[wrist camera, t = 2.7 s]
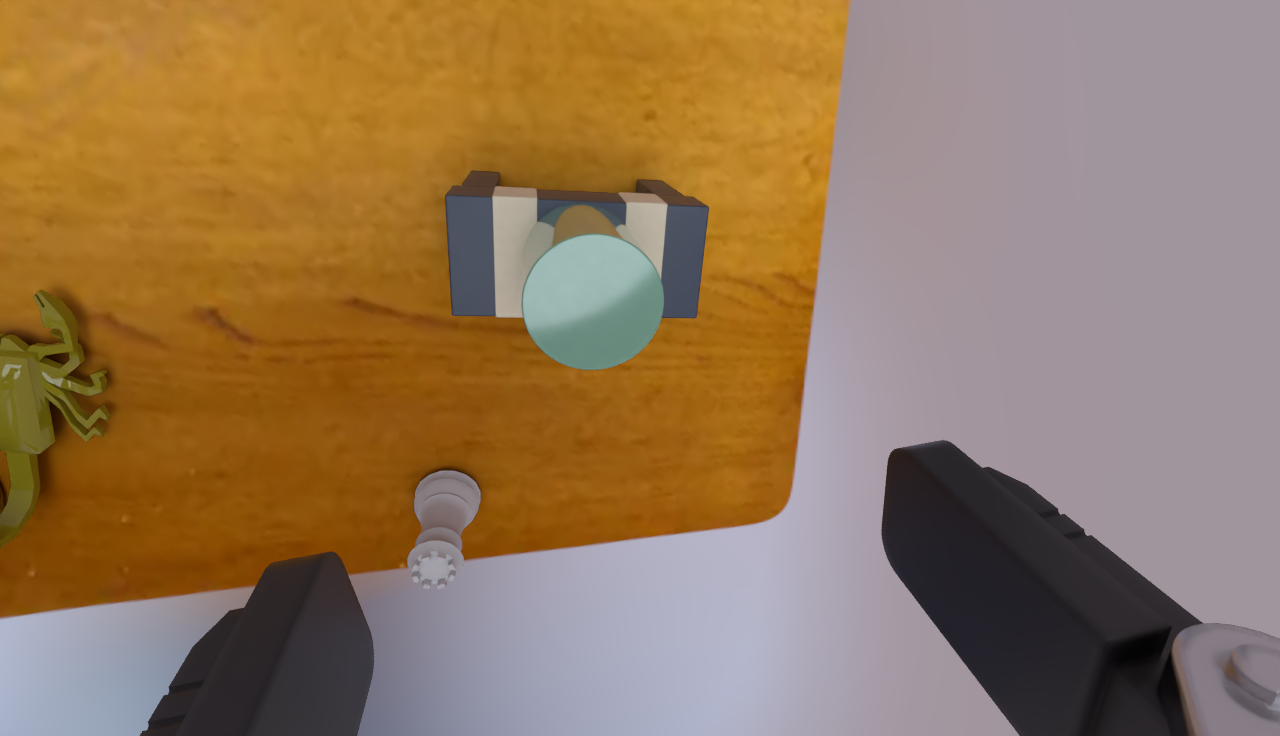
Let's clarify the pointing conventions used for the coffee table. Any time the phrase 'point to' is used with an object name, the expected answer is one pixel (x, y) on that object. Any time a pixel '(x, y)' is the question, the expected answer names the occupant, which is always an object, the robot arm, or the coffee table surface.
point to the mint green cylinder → (588, 288)
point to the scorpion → (39, 406)
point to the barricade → (504, 216)
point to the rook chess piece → (442, 526)
